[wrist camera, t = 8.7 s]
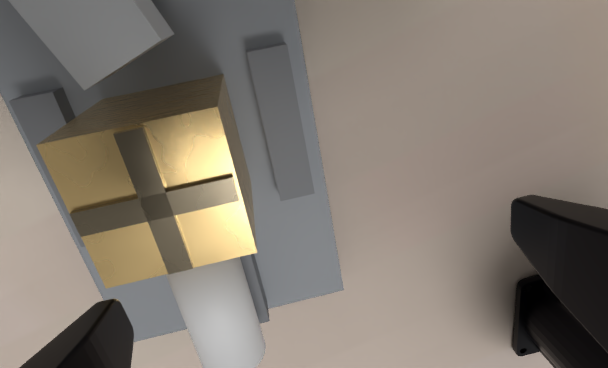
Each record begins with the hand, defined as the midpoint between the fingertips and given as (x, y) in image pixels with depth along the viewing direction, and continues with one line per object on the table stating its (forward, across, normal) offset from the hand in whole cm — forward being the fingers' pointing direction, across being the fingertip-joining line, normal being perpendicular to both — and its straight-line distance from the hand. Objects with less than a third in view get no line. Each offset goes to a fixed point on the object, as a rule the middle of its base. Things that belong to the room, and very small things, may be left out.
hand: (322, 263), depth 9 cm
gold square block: (+10, +4, -1) cm, 11 cm away
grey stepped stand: (+12, +4, -1) cm, 12 cm away
